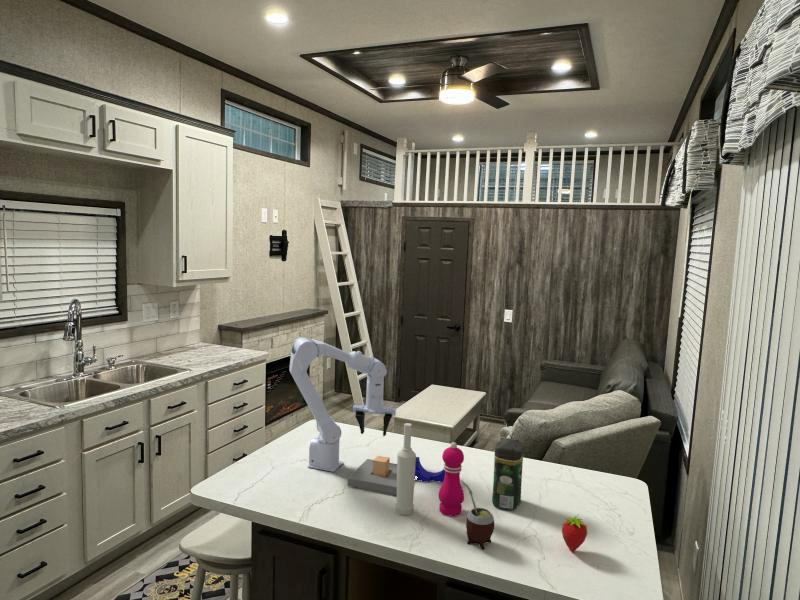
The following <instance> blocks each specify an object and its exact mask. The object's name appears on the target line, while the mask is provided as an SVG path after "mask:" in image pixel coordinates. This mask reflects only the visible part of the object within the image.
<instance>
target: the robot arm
mask: <svg viewBox="0 0 800 600" xmlns="http://www.w3.org/2000/svg"><path fill="white" fill-rule="evenodd" d="M324 356H327V357H329V358H332V359H335V360H339V361H340V362H343V363H345V364H346V367H347V368H349V369H352V370H354V371H356V372H359V373H362V374H364V375H365V374H367V375H366V391H365V392H366V393H365V394H366V395H365V396H366V397H365V405H363V404H361V405H359V404H358V405H355V404H354V405H353V406H352V413H355V416H354V417H355V419H356V421H357V422H358V425H359V430H360V434H361V435H363V434H364V433H365V419H366V418H365V417H366V413H367V414H377V415H378V414H379V415H384V416H383V430H382V435H383V437H386V435H387V431H388V428H389V424H390V422H391V419H392V417H394V416H396V415H397V412H396V411H397V409H396V408H393V407H388V406H384V385H385V382H384V379H385V376H387V373H388V370H387V367H386V365H385V364H384V363H383V362H382V361H381V360H380V359H377V358H376V357H374V356H368V355H365V354H364V353H363V352H362V351H360V350H357V351H356V350H355V351H354V350H353V351H351V352H347V351H345V350H342V349H341V348H340V349H339V348H337V347H336V346H333V345H331V344H328V343H327V342H324V341H320V340H317V339H314V338H311V339H310V338H309V337H306V336H300V337H297V338H296V339H295V340H294V341H293V343H292V345H291V347H290V361H289V369H288V370H289V373H290V375H291V376H292V378H293V380H294V383H295V384H296V386H297V388H298V390H299V391H300V393H301V395H302V397H303V398H304V400H305V402H306V404H307V407H308V408H309V410H310V412H311V414H312V415H313V419H314V420H315V422H316V431H318V432H319V434H318V437H315V436H314V437H313V438H312V439H311V441H310V444H309V447H308V449H309V451H308V453H309V455H308V465H307V467H308V468H311V469H316V470H322V471H327V472H335V471H337V470H338V468H340V467H341V466H342V465H343V464H344V461H342V460H340V439H341V437H342V428H341V427H340V426H339V425H338V423H336V421H335V419H334V418H333V417H331V415H330V414H329V411H328V410H327V407H326V406H325V404H324V403H323V400H322V398H321V397H320V395H319V392H318V391H317V388H316V387H315V386H314V384H313V382H312V380H311V378H310V376H309V374H308V372H307V371H308V368H309V367H310V364H311V363H313V361H314V360H315V359H316V357H317V358H319V359H320V358H322V357H324ZM339 466H340V467H339Z"/></svg>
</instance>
